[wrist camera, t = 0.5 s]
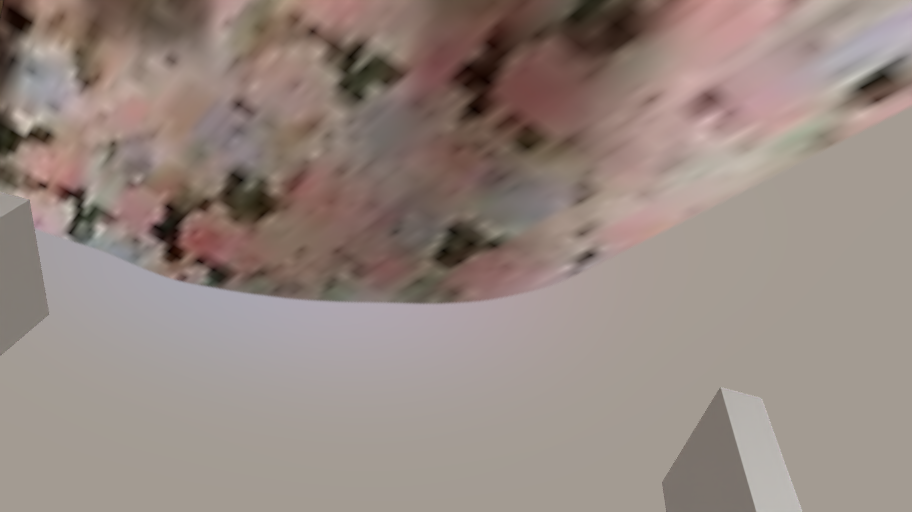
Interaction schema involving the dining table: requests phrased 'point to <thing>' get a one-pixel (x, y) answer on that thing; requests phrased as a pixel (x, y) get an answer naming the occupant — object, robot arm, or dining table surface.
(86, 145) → the dining table surface
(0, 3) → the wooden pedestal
